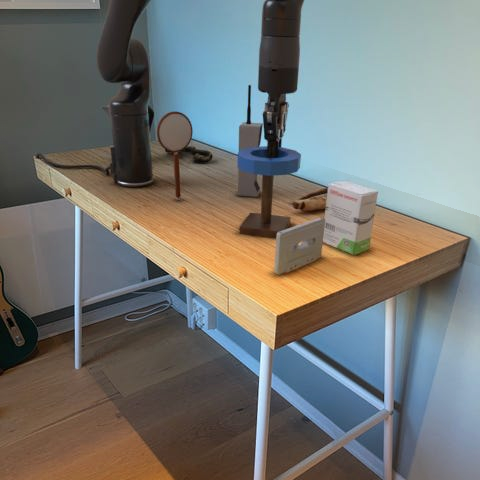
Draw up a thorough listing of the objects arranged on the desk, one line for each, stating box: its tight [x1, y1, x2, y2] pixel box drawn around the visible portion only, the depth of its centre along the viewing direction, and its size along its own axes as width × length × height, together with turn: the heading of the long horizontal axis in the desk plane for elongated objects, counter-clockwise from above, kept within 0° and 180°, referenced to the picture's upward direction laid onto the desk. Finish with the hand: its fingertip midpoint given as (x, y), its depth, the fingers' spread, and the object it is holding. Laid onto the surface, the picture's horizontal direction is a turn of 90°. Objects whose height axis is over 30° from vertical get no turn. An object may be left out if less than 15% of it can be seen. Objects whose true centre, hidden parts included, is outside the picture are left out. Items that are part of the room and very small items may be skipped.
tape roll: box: [236, 145, 302, 177], centre depth 97 cm, size 12×12×3 cm
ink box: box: [323, 180, 379, 256], centre depth 94 cm, size 9×5×12 cm, turn 39°
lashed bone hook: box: [292, 187, 328, 212], centre depth 116 cm, size 9×5×18 cm
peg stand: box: [238, 175, 292, 239], centre depth 101 cm, size 9×9×12 cm
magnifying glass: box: [156, 110, 194, 202], centre depth 113 cm, size 9×2×20 cm, turn 121°
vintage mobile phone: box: [237, 84, 264, 198], centre depth 117 cm, size 4×5×25 cm
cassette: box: [273, 216, 325, 276], centre depth 87 cm, size 12×2×8 cm, turn 133°
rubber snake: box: [164, 145, 214, 164], centre depth 152 cm, size 18×5×10 cm
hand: (273, 158), depth 101 cm, fingers closed on tape roll, 2 cm apart
